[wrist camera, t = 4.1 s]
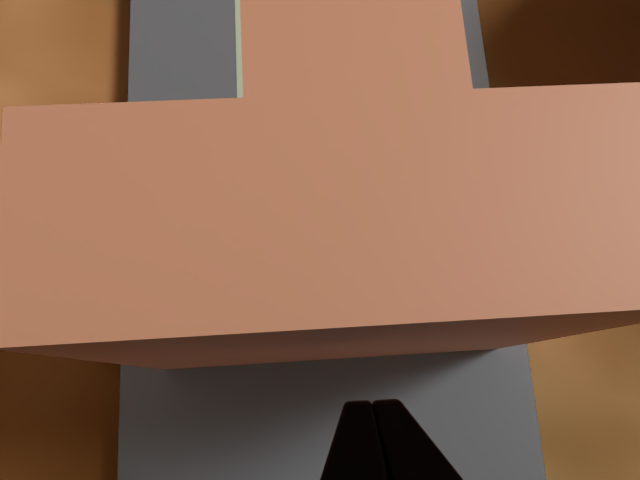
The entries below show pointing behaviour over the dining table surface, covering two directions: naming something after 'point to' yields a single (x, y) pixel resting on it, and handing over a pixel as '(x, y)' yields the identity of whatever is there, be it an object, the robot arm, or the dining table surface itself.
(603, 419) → the dining table surface
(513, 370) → the board
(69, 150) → the t block
